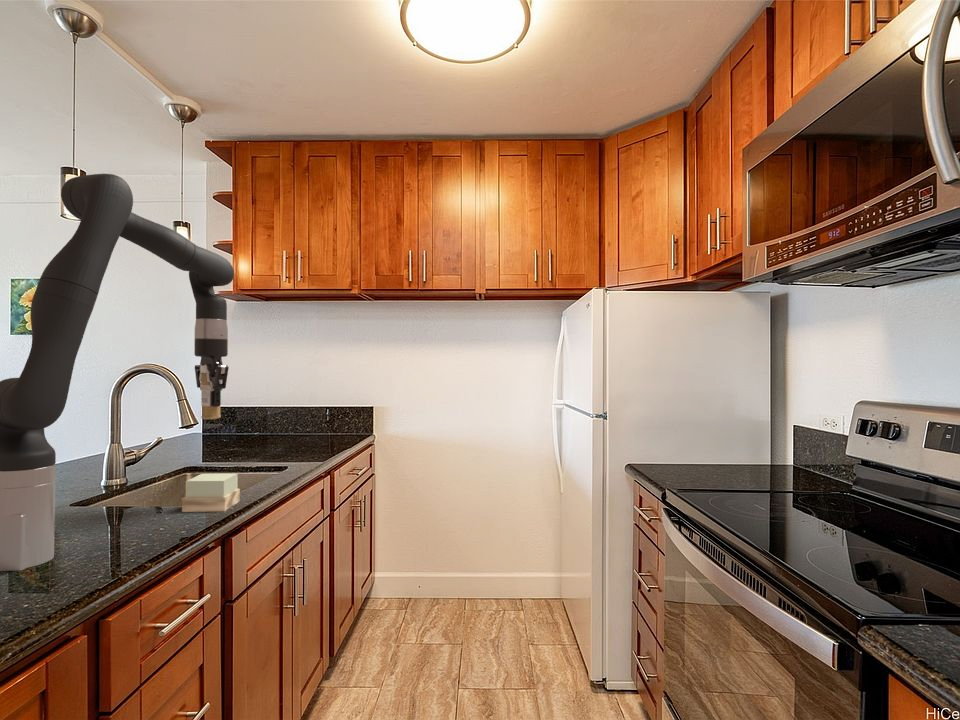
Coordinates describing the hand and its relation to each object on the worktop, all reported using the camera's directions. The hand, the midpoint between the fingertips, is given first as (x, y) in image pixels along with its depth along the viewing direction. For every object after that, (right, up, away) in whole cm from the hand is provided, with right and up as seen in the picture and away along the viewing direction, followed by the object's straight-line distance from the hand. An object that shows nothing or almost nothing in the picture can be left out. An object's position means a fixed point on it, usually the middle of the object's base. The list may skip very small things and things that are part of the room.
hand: (210, 405), depth 140 cm
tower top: (+1, -22, 0) cm, 22 cm away
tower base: (0, -26, 0) cm, 26 cm away
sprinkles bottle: (0, -3, 0) cm, 3 cm away
